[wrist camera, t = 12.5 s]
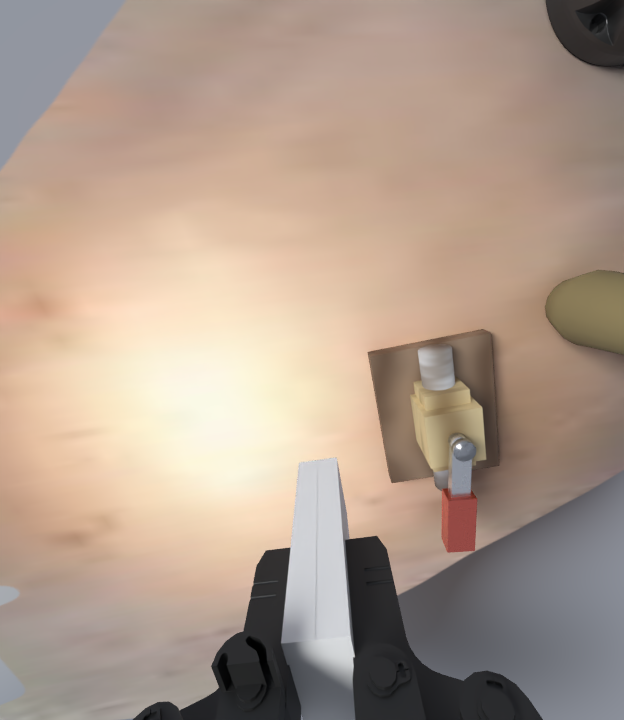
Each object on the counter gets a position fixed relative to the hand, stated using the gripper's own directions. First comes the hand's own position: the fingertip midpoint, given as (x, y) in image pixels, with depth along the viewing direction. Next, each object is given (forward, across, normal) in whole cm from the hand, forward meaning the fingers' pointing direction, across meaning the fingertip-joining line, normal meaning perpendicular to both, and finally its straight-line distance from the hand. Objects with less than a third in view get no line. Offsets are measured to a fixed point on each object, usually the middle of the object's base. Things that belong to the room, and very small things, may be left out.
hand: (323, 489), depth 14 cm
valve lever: (+21, +12, -19) cm, 31 cm away
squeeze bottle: (+30, +29, -2) cm, 42 cm away
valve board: (+29, +12, -13) cm, 34 cm away
